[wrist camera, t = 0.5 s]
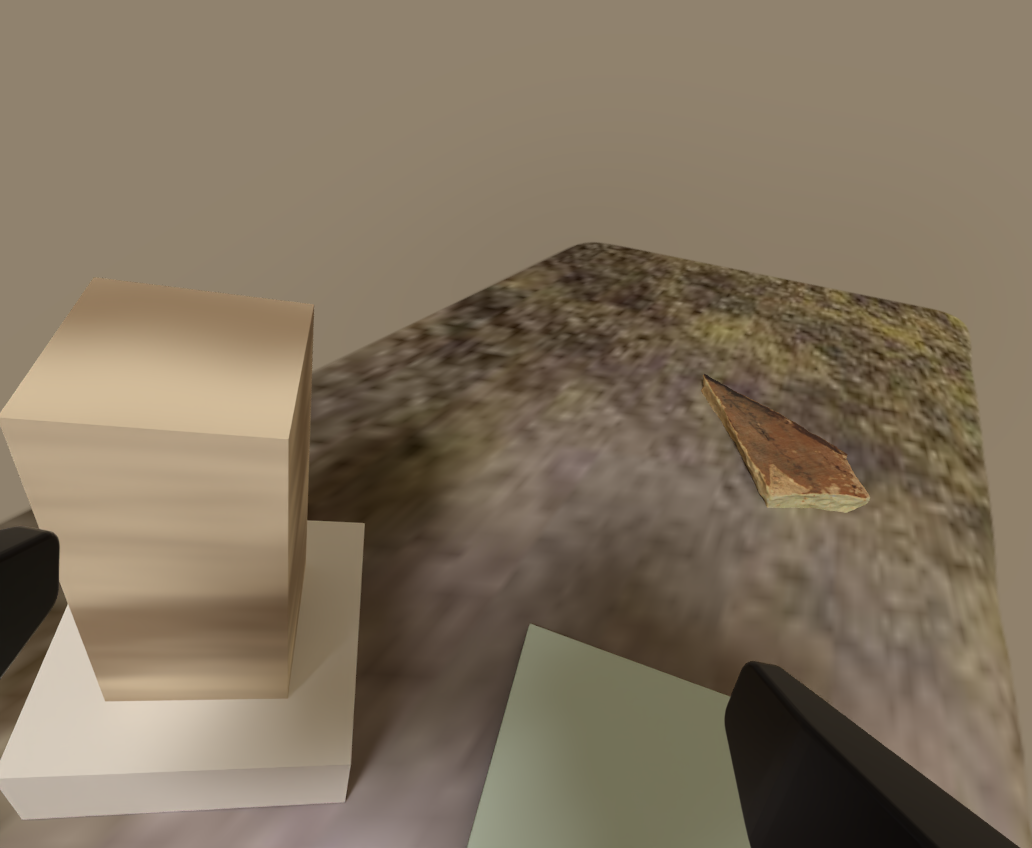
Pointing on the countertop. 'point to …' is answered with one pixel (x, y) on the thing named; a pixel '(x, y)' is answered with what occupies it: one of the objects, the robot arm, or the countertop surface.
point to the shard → (785, 455)
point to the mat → (607, 757)
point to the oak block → (174, 484)
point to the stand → (199, 720)
